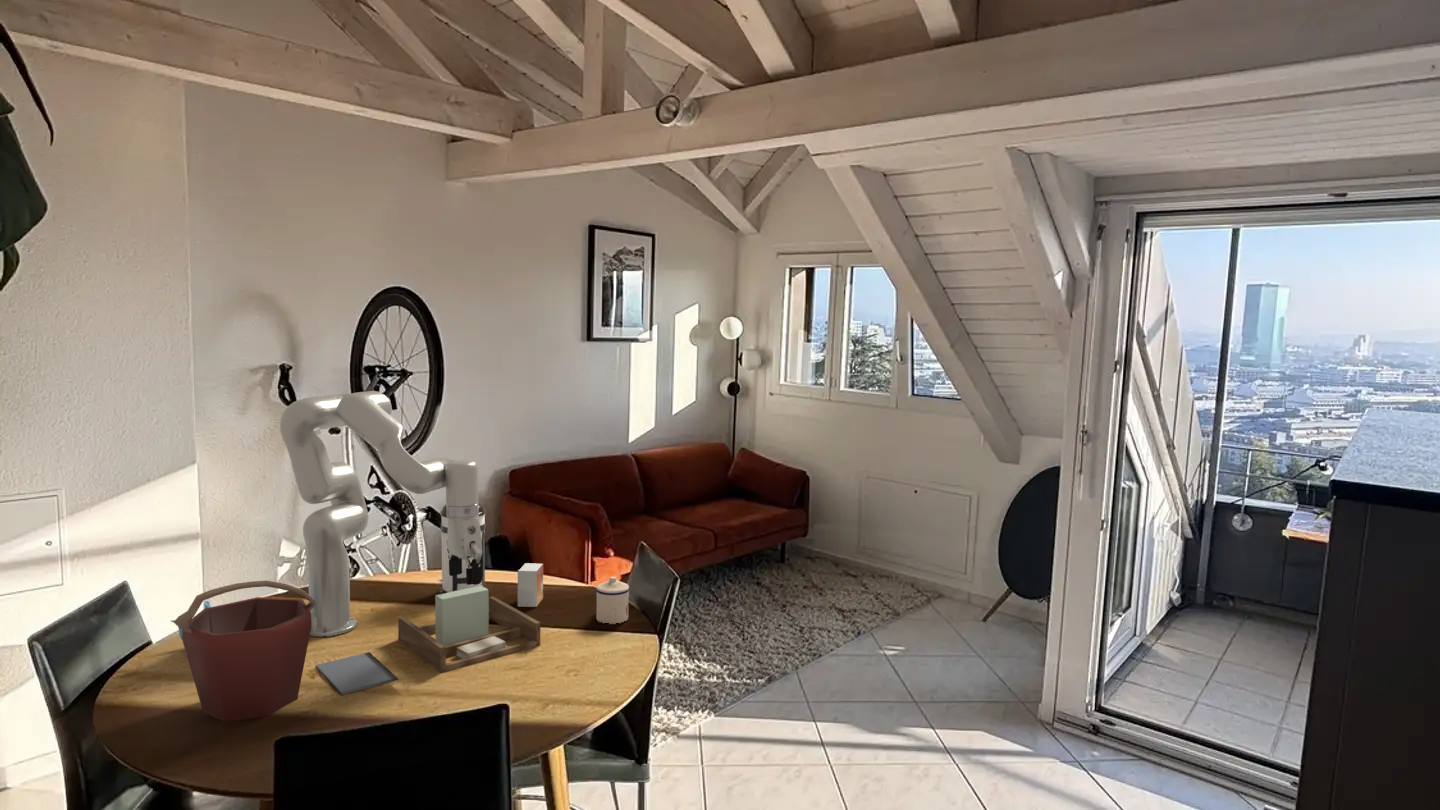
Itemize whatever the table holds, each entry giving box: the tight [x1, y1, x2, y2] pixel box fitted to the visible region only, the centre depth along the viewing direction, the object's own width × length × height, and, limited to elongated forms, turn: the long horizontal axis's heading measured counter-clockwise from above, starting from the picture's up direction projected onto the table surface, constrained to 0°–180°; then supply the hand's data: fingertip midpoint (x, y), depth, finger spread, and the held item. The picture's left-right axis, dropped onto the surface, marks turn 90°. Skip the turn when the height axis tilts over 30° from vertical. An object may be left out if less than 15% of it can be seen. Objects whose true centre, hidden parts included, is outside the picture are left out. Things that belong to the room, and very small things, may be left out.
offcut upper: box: [456, 636, 507, 659], centre depth 191 cm, size 10×5×2 cm, turn 139°
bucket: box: [173, 580, 316, 723], centre depth 166 cm, size 24×22×25 cm
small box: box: [517, 562, 544, 608], centre depth 230 cm, size 8×6×10 cm
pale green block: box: [434, 586, 490, 646], centre depth 199 cm, size 12×4×13 cm, turn 133°
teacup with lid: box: [595, 576, 631, 625], centre depth 220 cm, size 12×9×12 cm
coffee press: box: [437, 501, 488, 594], centre depth 235 cm, size 17×16×30 cm
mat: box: [315, 651, 400, 696], centre depth 183 cm, size 18×18×1 cm
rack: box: [397, 596, 541, 673], centre depth 197 cm, size 25×25×7 cm
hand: (464, 579), depth 198 cm, fingers open, 9 cm apart
